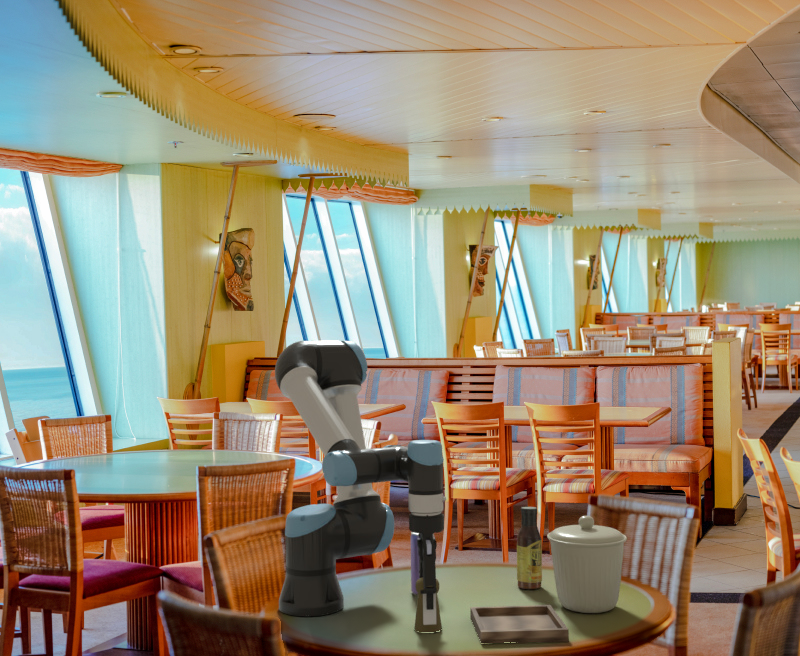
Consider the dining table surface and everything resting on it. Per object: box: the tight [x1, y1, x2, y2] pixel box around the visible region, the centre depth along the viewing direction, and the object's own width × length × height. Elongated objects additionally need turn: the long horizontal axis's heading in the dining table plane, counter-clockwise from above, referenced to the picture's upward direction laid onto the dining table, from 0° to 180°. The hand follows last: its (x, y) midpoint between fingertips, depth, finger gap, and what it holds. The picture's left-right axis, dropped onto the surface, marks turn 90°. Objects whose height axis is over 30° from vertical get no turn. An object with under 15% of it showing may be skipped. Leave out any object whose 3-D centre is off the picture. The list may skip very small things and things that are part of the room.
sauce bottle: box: [516, 506, 543, 590], centre depth 231 cm, size 7×6×20 cm
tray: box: [469, 604, 570, 644], centre depth 196 cm, size 18×18×2 cm
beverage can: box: [409, 531, 436, 596], centre depth 226 cm, size 6×6×15 cm
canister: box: [546, 515, 628, 614], centre depth 212 cm, size 18×18×21 cm
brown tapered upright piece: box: [414, 577, 443, 632], centre depth 197 cm, size 6×6×11 cm
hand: (427, 616), depth 197 cm, fingers open, 10 cm apart
